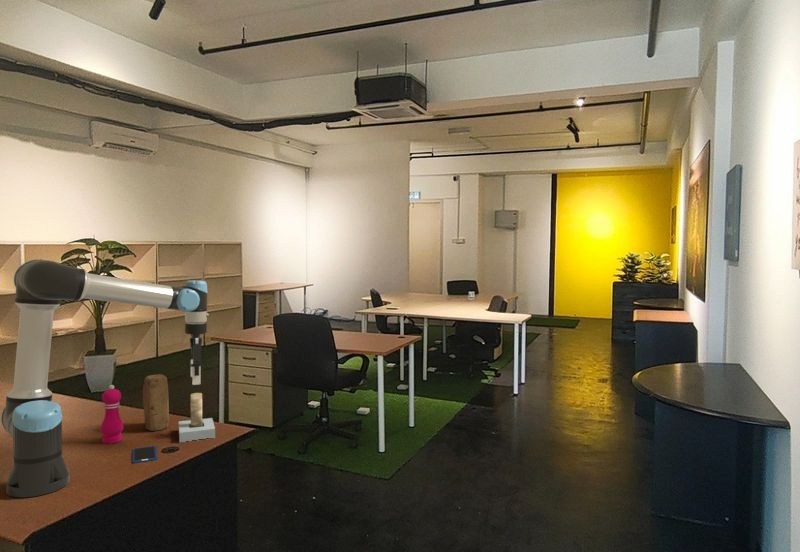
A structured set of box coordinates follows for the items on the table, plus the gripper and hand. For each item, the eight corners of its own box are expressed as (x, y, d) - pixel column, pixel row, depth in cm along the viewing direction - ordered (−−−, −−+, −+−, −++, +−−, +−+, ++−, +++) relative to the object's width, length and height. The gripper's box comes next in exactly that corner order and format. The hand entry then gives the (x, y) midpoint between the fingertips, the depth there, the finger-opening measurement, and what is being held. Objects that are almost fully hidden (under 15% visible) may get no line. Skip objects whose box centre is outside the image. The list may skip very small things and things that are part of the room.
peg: (190, 436, 200) (190, 396, 200) (190, 433, 204) (190, 393, 204) (203, 435, 202) (202, 395, 201) (202, 432, 206) (202, 392, 205)
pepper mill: (113, 444, 192) (113, 387, 191) (95, 443, 193) (95, 386, 192) (128, 437, 199) (127, 383, 198) (110, 436, 200) (109, 381, 199)
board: (179, 442, 194) (179, 432, 194) (178, 430, 207) (178, 421, 207) (215, 438, 199) (215, 428, 199) (212, 426, 212) (212, 417, 212)
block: (170, 429, 209) (169, 377, 208) (149, 433, 204) (148, 379, 203) (161, 422, 217) (161, 372, 216) (141, 425, 212) (140, 374, 211)
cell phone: (132, 464, 175) (132, 462, 175) (132, 450, 187) (132, 448, 187) (157, 461, 178) (157, 458, 178) (156, 447, 191) (156, 445, 191)
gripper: (209, 326, 191) (208, 387, 192) (204, 318, 214) (203, 372, 215) (186, 327, 188) (185, 388, 189) (183, 319, 211) (183, 374, 212)
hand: (195, 380), depth 202 cm, fingers open, 13 cm apart
